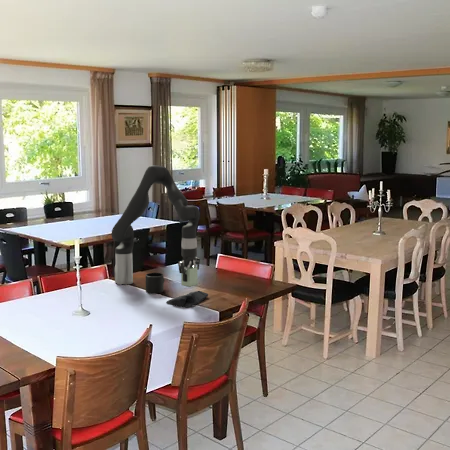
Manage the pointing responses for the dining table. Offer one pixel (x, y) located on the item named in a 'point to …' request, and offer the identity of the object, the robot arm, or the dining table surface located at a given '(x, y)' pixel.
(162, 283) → the mug
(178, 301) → the dark slate chunk
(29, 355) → the dining table surface
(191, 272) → the pale green block
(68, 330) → the dining table surface
